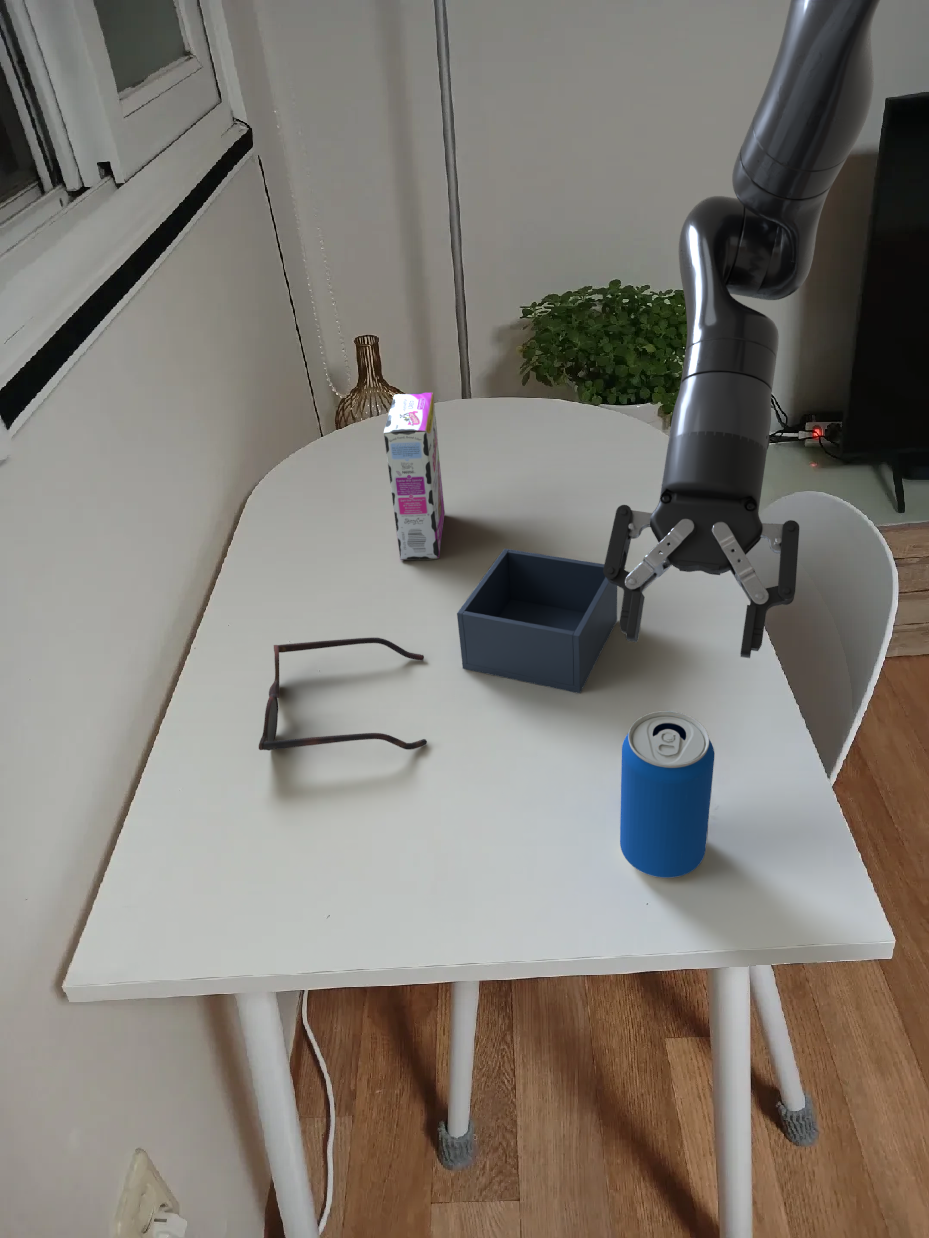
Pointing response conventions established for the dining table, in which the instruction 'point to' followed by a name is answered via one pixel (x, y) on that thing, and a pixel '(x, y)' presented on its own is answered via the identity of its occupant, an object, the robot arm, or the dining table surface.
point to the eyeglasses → (271, 729)
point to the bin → (538, 620)
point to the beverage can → (665, 793)
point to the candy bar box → (415, 475)
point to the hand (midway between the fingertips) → (687, 648)
